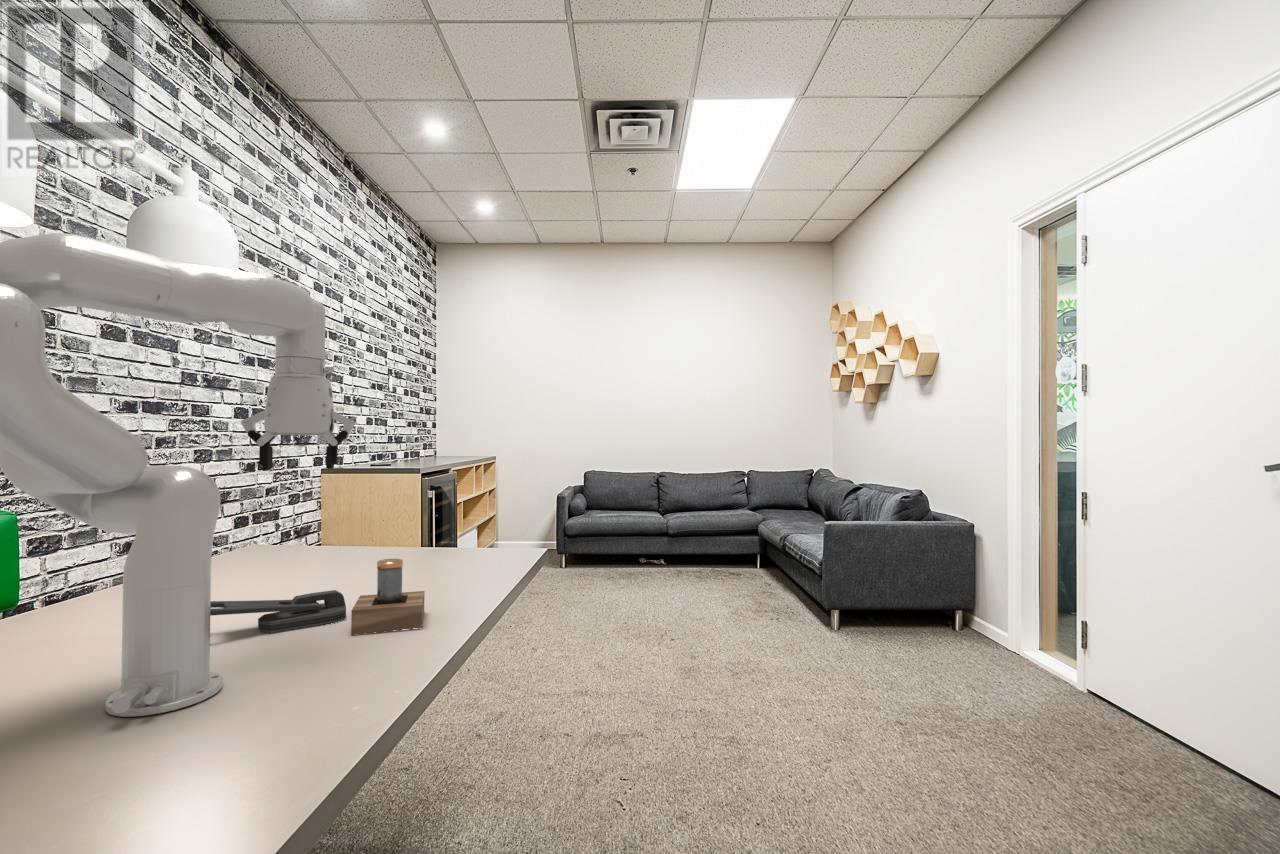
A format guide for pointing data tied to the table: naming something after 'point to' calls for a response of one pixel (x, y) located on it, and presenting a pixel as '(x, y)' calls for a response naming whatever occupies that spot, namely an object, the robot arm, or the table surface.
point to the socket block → (387, 614)
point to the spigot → (389, 581)
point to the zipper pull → (289, 611)
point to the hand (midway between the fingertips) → (299, 469)
